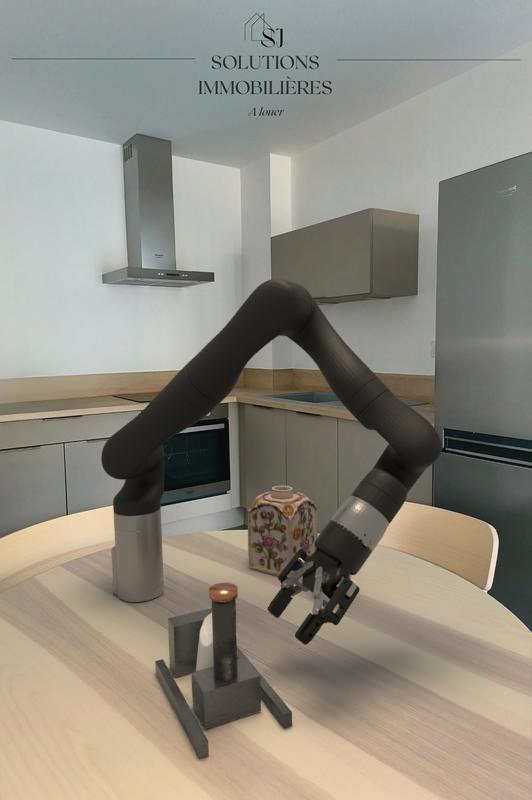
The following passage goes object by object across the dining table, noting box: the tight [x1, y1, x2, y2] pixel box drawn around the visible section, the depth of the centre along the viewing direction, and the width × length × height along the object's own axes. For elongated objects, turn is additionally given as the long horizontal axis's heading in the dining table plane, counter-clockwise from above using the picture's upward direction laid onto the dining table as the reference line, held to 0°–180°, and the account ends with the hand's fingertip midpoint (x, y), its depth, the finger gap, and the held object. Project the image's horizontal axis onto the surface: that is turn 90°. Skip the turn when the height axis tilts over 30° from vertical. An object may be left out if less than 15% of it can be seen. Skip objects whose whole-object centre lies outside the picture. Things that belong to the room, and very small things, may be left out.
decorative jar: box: [247, 485, 319, 578], centre depth 125 cm, size 12×12×18 cm
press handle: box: [191, 582, 262, 730], centre depth 75 cm, size 5×8×17 cm, turn 116°
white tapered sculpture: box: [196, 612, 239, 671], centre depth 81 cm, size 6×12×6 cm
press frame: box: [154, 607, 293, 760], centre depth 79 cm, size 20×13×8 cm, turn 26°
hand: (285, 627), depth 79 cm, fingers open, 8 cm apart
